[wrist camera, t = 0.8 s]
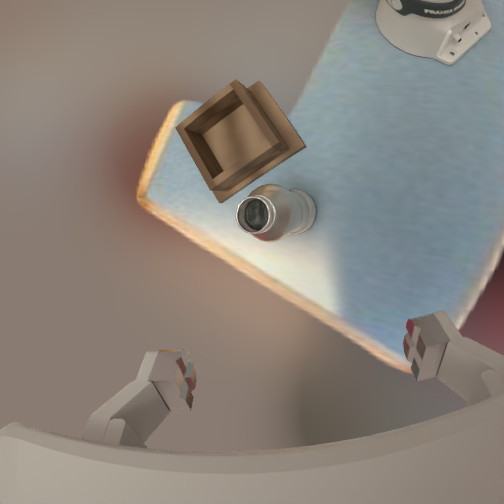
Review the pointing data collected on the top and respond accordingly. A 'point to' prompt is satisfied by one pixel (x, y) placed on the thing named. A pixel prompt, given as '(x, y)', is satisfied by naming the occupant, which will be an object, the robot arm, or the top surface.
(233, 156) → the bottle caddy
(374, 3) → the top surface
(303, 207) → the plastic bottle
